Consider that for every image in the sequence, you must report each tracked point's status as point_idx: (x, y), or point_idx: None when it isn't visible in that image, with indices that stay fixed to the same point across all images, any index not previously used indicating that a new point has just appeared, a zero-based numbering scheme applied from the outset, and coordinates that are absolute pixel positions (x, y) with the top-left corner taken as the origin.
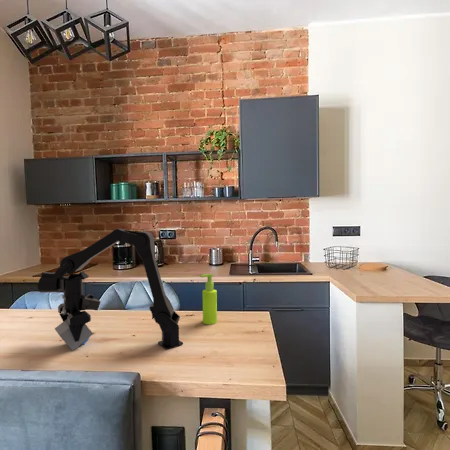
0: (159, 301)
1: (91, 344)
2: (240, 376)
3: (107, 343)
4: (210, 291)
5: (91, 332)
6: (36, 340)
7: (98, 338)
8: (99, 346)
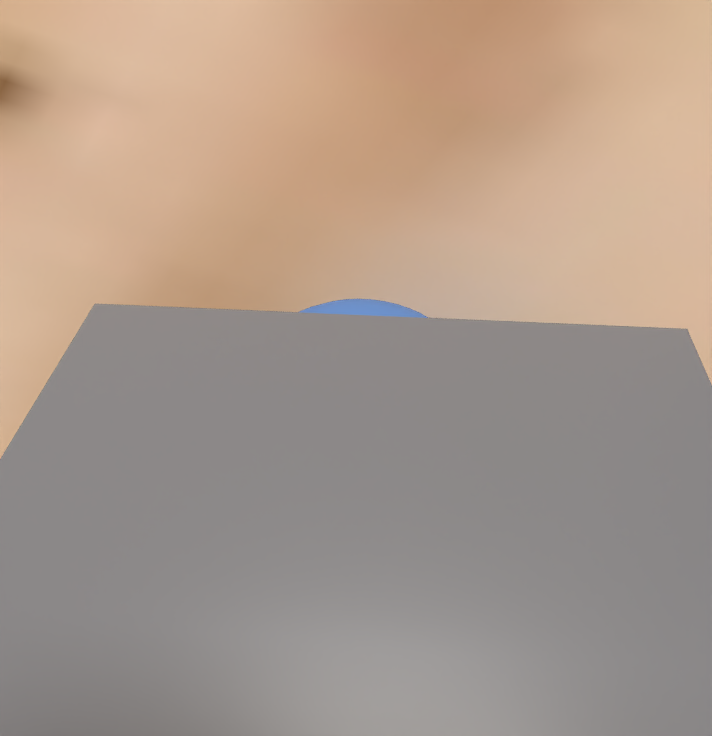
0: None
1: (500, 282)
2: None
3: (701, 20)
4: None
5: (702, 393)
6: None
7: (317, 91)
8: (699, 204)
